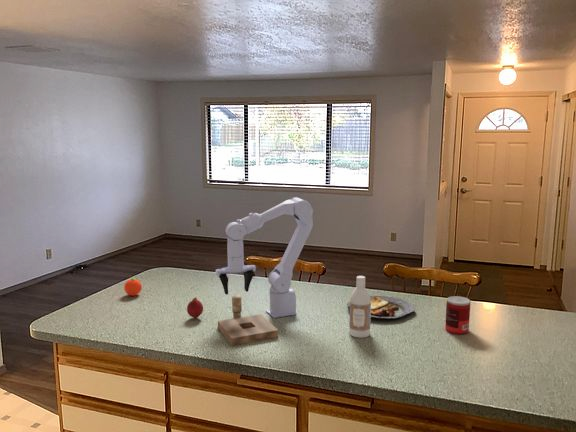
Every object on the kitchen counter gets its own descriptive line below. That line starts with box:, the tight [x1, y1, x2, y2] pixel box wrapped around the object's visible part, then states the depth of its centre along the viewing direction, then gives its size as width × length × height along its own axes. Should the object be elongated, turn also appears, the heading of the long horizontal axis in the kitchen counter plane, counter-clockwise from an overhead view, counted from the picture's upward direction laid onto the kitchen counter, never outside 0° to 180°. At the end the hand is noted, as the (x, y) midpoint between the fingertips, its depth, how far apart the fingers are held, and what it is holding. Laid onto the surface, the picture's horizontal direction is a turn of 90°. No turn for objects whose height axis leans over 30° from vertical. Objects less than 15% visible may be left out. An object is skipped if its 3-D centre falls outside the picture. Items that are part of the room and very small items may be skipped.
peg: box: [231, 295, 243, 319], centre depth 183 cm, size 3×3×8 cm
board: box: [217, 313, 279, 347], centre depth 171 cm, size 16×16×2 cm
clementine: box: [124, 278, 143, 296], centre depth 210 cm, size 8×7×7 cm
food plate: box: [347, 294, 416, 320], centre depth 191 cm, size 25×23×4 cm
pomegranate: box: [186, 296, 204, 319], centre depth 183 cm, size 6×6×8 cm
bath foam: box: [348, 275, 372, 339], centre depth 167 cm, size 7×7×20 cm
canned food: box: [444, 295, 471, 336], centre depth 171 cm, size 8×8×11 cm
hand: (236, 292), depth 182 cm, fingers open, 7 cm apart
